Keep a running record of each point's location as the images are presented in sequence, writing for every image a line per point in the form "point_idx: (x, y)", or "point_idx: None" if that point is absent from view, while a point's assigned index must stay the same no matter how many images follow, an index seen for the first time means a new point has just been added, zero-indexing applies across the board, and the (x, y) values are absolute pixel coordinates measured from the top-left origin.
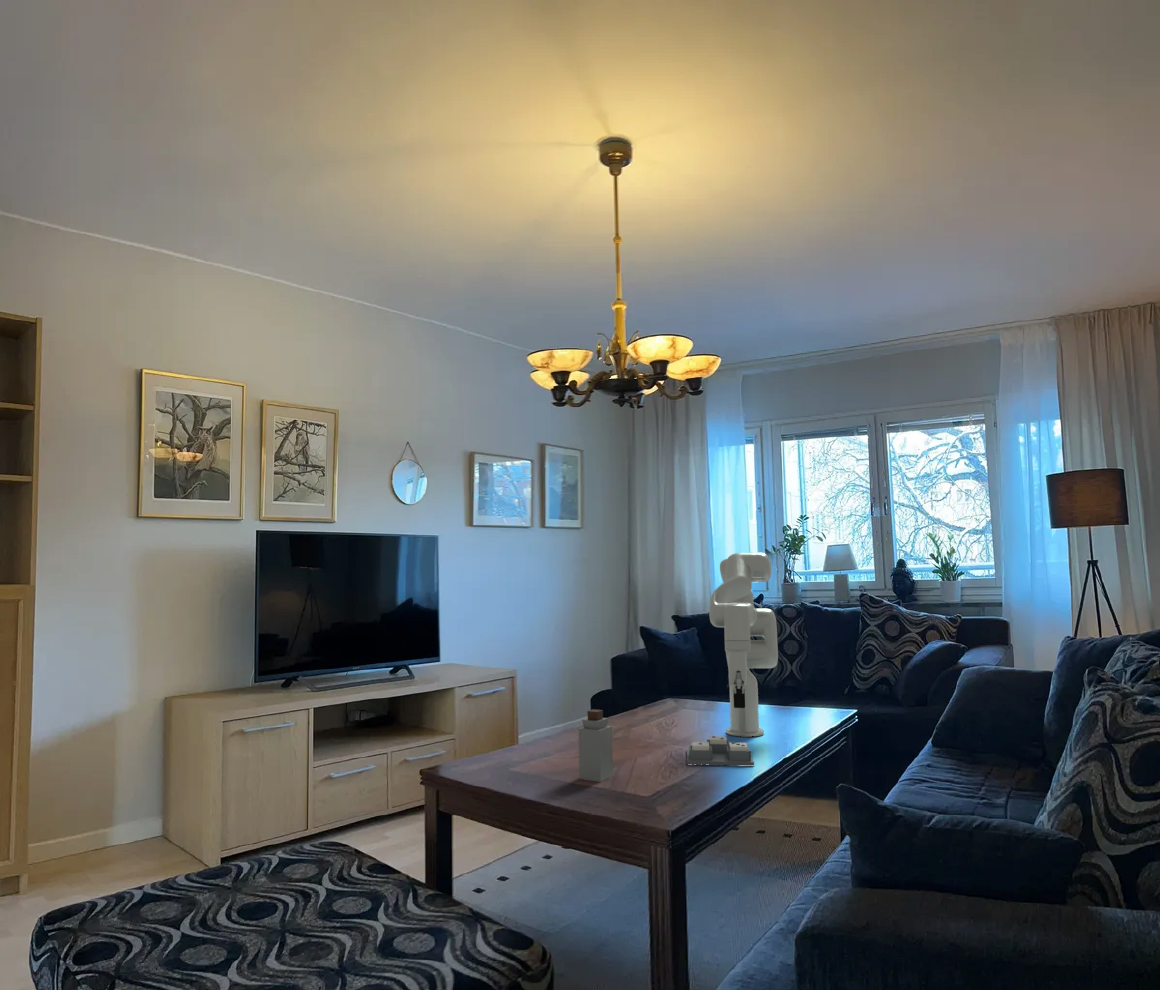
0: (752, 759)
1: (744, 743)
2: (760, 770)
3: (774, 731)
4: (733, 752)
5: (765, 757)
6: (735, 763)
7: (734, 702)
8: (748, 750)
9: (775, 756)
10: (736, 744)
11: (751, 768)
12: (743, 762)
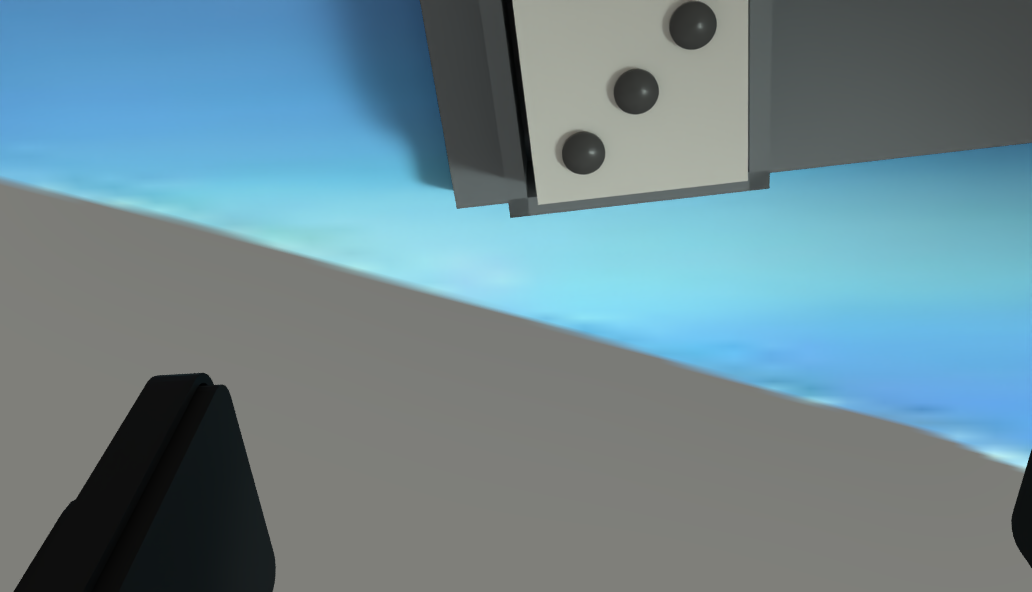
0: None
1: (706, 163)
2: (338, 246)
3: None
4: (482, 21)
5: (834, 277)
6: (427, 20)
7: (112, 472)
8: None
9: (874, 353)
10: (630, 69)
11: (387, 170)
12: (439, 107)
